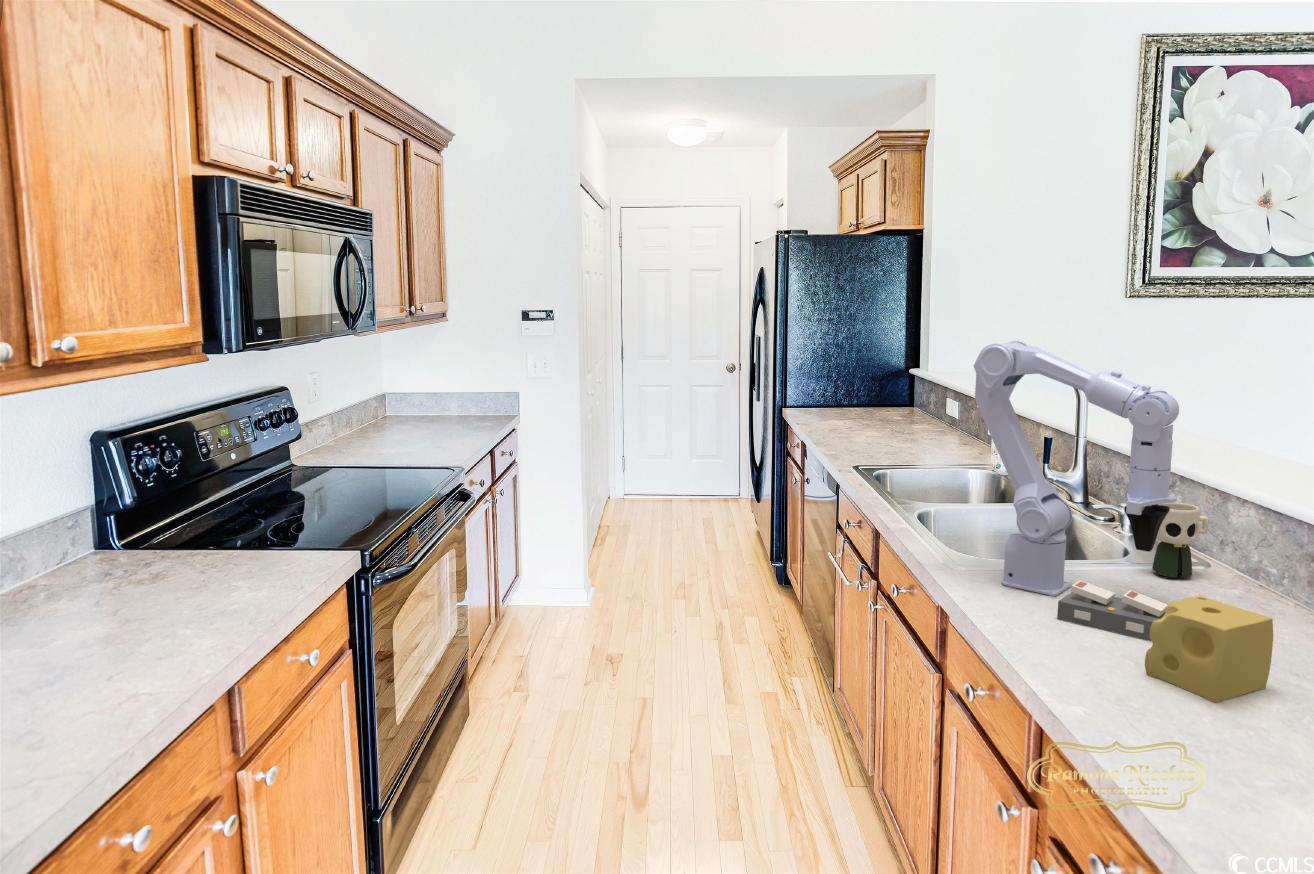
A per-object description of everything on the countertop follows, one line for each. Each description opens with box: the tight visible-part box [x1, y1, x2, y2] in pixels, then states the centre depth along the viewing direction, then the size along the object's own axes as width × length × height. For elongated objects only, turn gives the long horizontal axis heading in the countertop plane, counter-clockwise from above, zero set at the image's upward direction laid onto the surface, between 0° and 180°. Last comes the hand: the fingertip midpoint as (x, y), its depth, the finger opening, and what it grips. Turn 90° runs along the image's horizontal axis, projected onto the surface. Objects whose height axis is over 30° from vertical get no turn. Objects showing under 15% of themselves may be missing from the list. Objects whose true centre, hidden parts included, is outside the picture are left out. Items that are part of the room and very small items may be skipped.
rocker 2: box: [1121, 589, 1168, 617], centre depth 133 cm, size 6×4×1 cm, turn 46°
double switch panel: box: [1057, 591, 1166, 642], centre depth 136 cm, size 15×8×4 cm, turn 45°
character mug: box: [1151, 501, 1209, 578], centre depth 158 cm, size 11×7×13 cm, turn 82°
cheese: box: [1144, 595, 1274, 703], centre depth 115 cm, size 10×11×10 cm
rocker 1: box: [1069, 580, 1116, 605], centre depth 139 cm, size 6×4×1 cm, turn 46°
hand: (1144, 549), depth 142 cm, fingers closed
